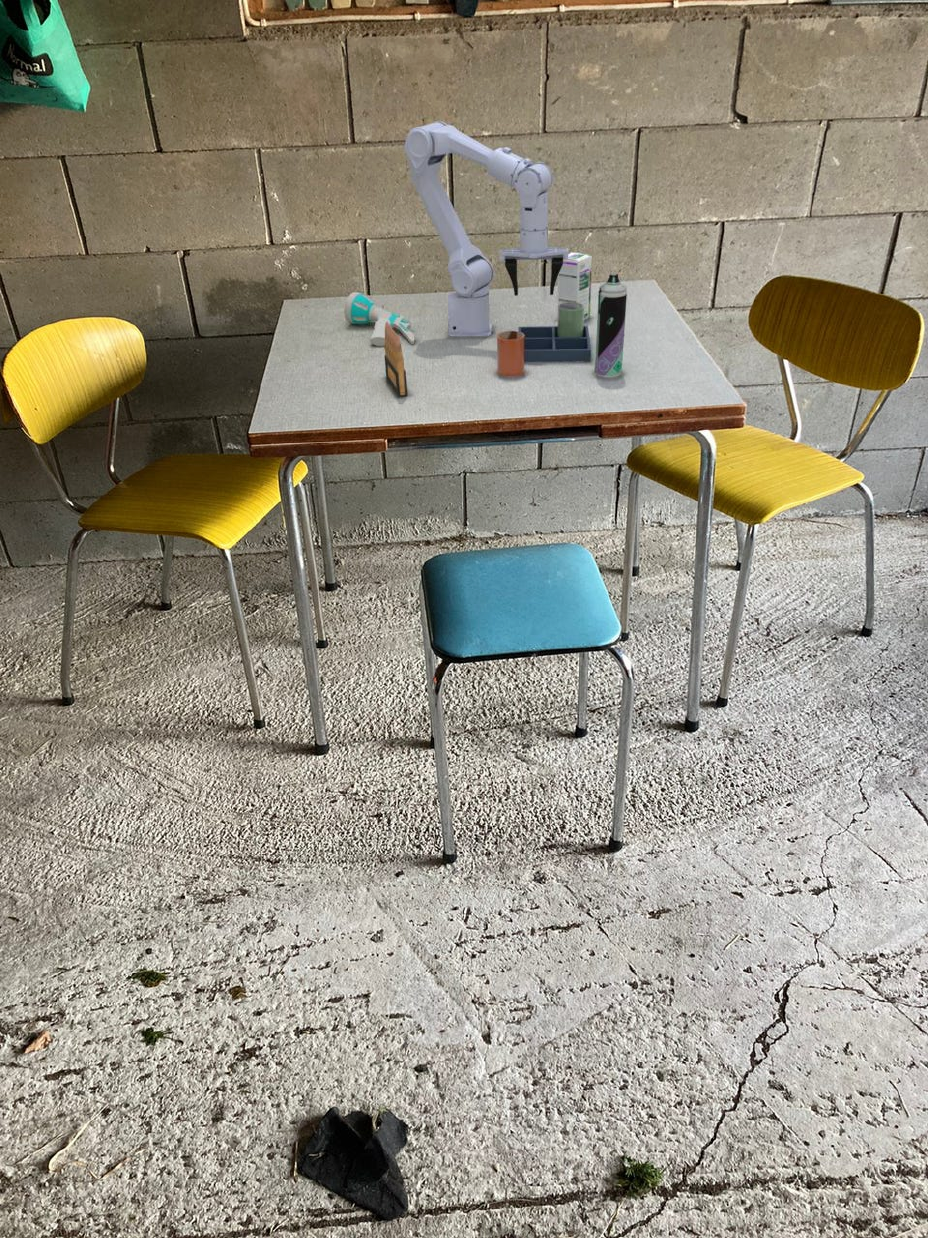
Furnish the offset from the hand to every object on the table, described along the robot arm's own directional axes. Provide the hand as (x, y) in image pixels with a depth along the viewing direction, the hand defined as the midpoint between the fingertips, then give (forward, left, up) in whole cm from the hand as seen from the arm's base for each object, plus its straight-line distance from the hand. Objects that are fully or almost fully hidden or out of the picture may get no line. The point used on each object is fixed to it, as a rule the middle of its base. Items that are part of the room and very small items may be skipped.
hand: (533, 293), depth 205 cm
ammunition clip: (-28, -27, -11) cm, 40 cm away
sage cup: (+8, -3, -10) cm, 13 cm away
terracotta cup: (-5, -20, -10) cm, 23 cm away
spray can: (+15, -21, -11) cm, 28 cm away
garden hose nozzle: (-36, +7, -11) cm, 38 cm away
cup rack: (+4, -7, -10) cm, 13 cm away
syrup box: (+9, +14, -11) cm, 20 cm away
